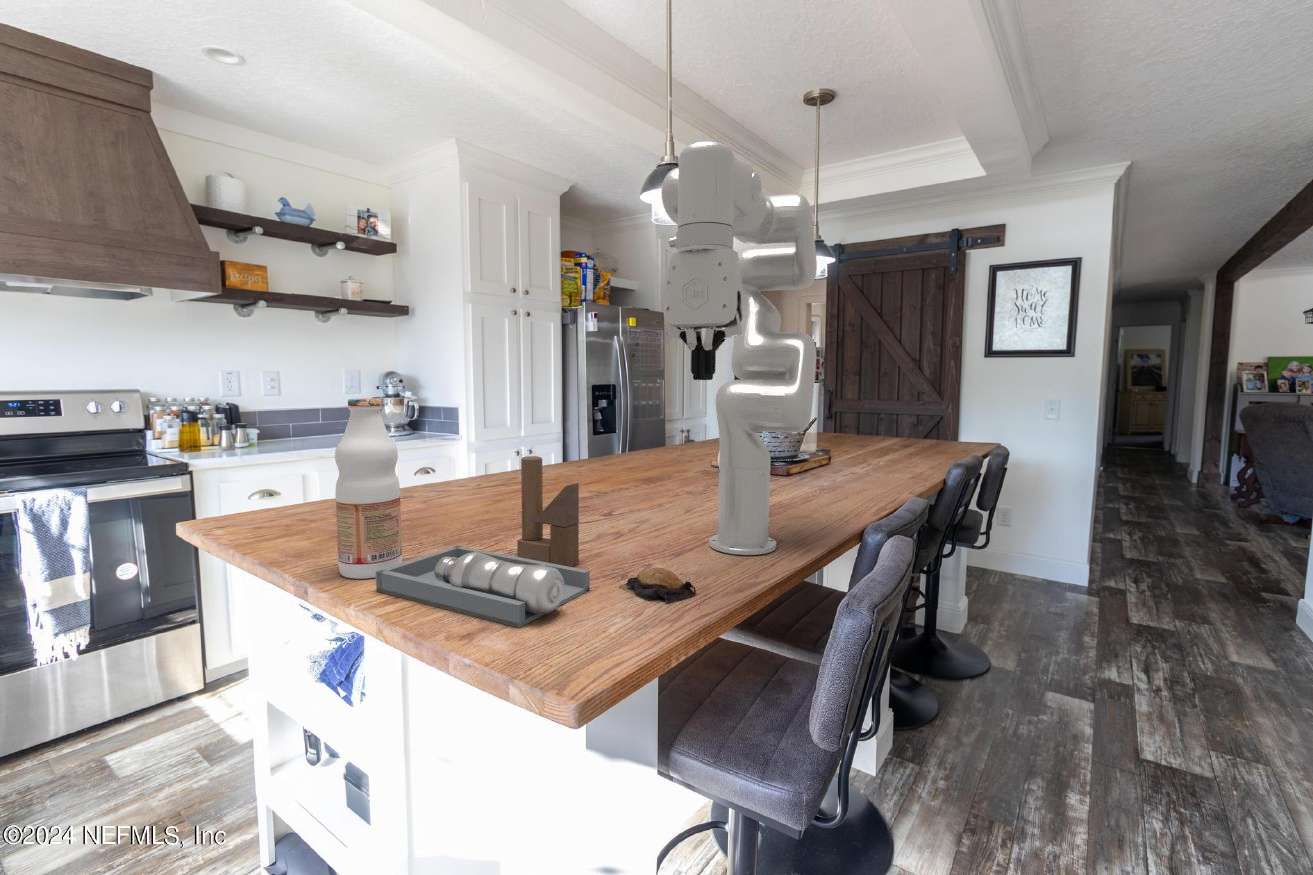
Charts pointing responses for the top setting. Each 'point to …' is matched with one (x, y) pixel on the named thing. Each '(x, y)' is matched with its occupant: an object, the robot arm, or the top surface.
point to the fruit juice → (367, 494)
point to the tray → (423, 587)
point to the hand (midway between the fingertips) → (703, 379)
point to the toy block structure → (548, 519)
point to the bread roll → (659, 586)
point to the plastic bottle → (504, 580)
